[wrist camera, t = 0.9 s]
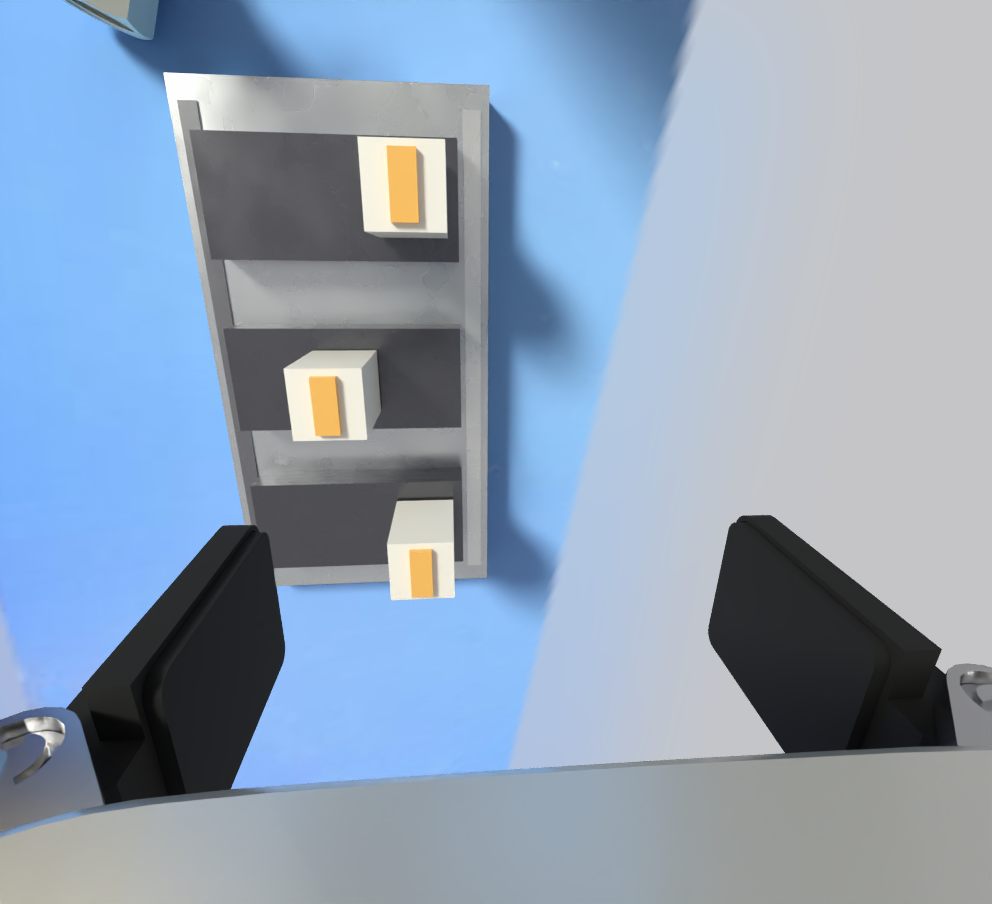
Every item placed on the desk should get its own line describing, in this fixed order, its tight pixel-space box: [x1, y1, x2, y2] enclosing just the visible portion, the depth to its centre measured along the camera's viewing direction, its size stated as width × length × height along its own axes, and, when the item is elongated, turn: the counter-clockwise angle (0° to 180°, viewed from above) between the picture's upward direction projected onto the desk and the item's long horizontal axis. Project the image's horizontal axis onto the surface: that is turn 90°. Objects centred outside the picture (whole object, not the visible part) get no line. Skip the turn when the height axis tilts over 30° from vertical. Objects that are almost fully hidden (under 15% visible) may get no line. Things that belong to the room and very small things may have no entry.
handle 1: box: [357, 136, 448, 239], centre depth 20 cm, size 3×3×5 cm
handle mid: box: [284, 350, 381, 441], centre depth 23 cm, size 3×3×5 cm
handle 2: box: [387, 500, 455, 600], centre depth 26 cm, size 3×3×5 cm
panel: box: [164, 73, 489, 586], centre depth 27 cm, size 26×14×4 cm, turn 179°
